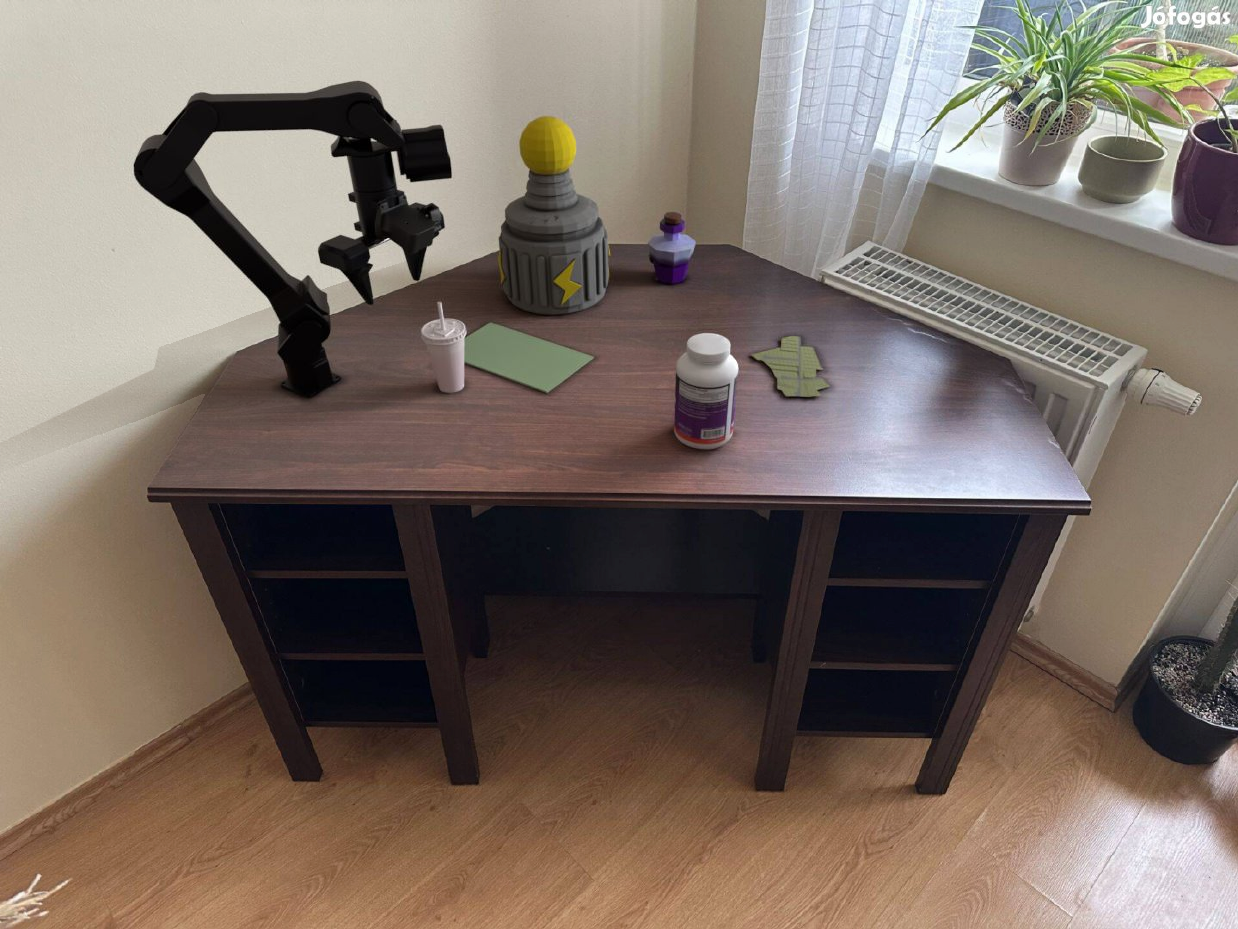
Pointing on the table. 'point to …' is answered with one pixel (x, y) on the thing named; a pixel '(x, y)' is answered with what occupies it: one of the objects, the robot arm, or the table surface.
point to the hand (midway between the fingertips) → (393, 291)
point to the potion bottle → (671, 250)
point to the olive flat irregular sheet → (794, 367)
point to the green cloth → (521, 357)
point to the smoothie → (446, 351)
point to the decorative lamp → (552, 230)
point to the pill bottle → (705, 392)
